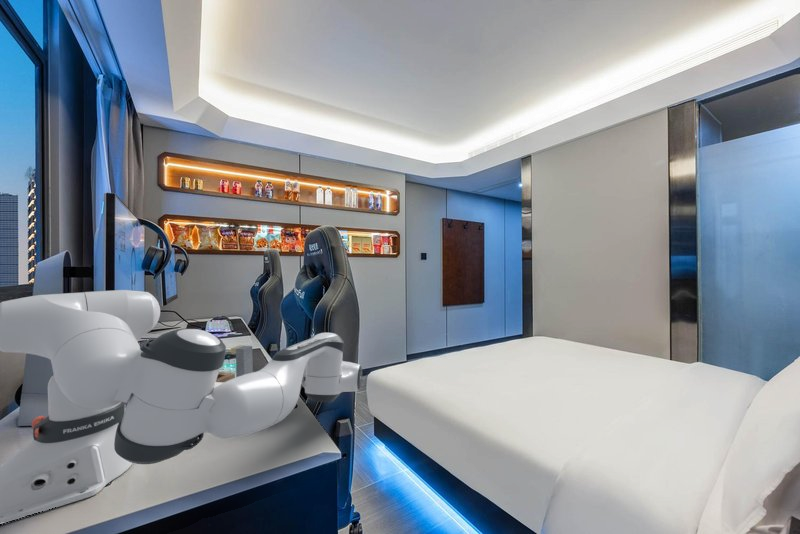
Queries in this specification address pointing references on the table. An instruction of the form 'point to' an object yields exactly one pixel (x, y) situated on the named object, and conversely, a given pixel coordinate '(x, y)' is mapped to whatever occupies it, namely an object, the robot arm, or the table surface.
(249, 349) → the grey upright cuboid
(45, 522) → the table surface
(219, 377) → the post block
